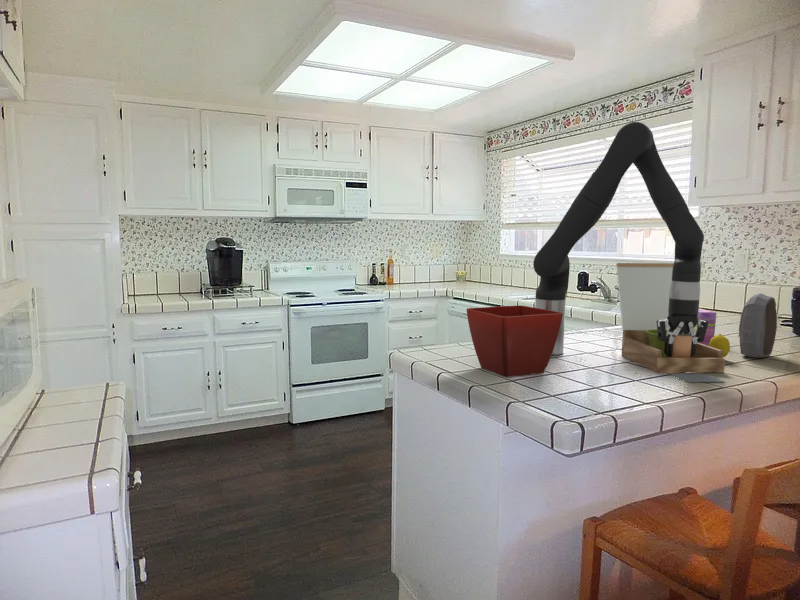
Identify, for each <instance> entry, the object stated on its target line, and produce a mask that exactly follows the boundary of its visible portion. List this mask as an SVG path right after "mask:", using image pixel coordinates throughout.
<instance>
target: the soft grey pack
mask: <svg viewBox="0 0 800 600" xmlns="http://www.w3.org/2000/svg"><path fill="white" fill-rule="evenodd" d="M776 302H777V301H776V299H775V298H774V297H772V296H769V295H767V294H766V295H765V294H764V293H757V294H754V295H753V296H751V297H750V298H749V299H748V300H747V301H746V302H745V303H744V306H743V308H742V311H741V314H740V320H739V327H738V335H737V337H738V338H739V346H740V347H739V348H740V354H742V355H743V356H745V357H750V358H764V357H765V358H766V357H769V356H771V355H772V353H773V349H774V346H775V345H774V344H775V341H776V335H777V331H778V330H777V329H778V328H777V327H778V313H777V303H776Z"/></svg>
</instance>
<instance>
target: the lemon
mask: <svg viewBox="0 0 800 600" xmlns="http://www.w3.org/2000/svg"><path fill="white" fill-rule="evenodd" d="M709 346H710V347H713V348H716V349H719V350H722V351H723V356H722V358H726V356H728V354H729V353H730V351H731V345H730V340H729V339H728V338H727V337H726V335H725V336H724V335H722V333H719V334H717V335H714V337H713V338H712V339H711V340H710V343H709Z"/></svg>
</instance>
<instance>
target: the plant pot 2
mask: <svg viewBox="0 0 800 600" xmlns="http://www.w3.org/2000/svg"><path fill="white" fill-rule="evenodd" d="M667 331H668V330H666V335H667ZM646 333H647V335H648V338H649V346H651V347H654V348H656V349H659V350H661V351H662V356H661V358H668V356H666V354H665V353H664V347H665V343H664V341H661V340H659V339H658V332H657V330H647V331H646Z"/></svg>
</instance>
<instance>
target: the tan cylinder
mask: <svg viewBox="0 0 800 600" xmlns="http://www.w3.org/2000/svg"><path fill="white" fill-rule="evenodd" d="M670 336H671V335H670ZM672 344H673V351H672V357H668V358H690V357H691V345H692V336H691V334H686V333H678V335H677V336H676V337H675V338H674V341H673V343H672Z"/></svg>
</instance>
